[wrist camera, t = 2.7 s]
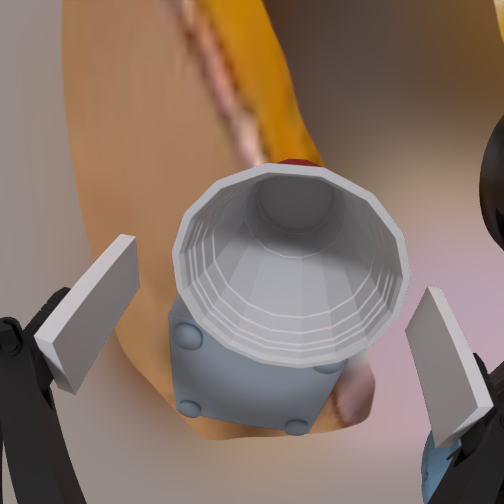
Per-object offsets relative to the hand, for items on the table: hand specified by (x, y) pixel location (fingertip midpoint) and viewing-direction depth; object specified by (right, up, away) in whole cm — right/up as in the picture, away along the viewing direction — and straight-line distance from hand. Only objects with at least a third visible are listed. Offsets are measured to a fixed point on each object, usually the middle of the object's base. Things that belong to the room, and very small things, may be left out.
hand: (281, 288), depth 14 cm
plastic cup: (+2, +6, +10) cm, 12 cm away
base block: (-1, -9, +19) cm, 21 cm away
